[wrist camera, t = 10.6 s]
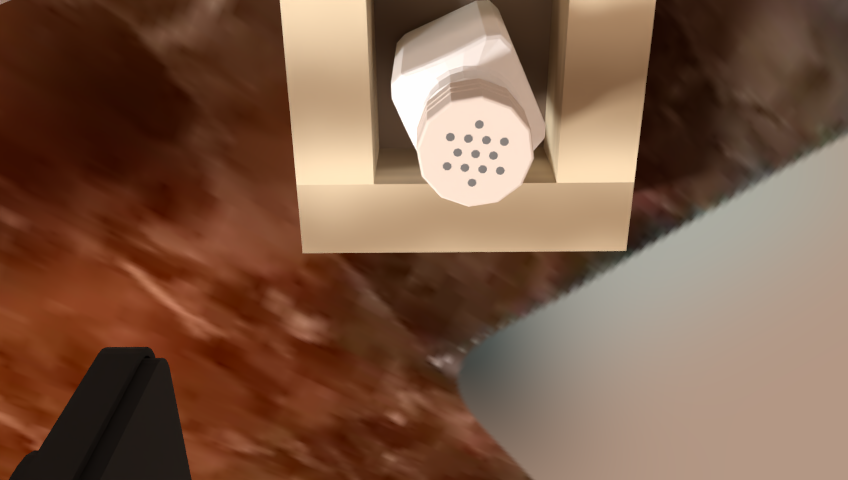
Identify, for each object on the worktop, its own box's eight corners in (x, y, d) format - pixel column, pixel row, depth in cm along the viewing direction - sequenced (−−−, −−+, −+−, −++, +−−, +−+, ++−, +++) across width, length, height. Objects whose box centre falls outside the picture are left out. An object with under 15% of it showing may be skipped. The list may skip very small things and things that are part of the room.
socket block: (293, -107, 28) (271, -97, 24) (633, -111, 28) (667, -101, 24) (317, 202, 34) (303, 253, 30) (602, 200, 33) (626, 250, 29)
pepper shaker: (435, 130, 31) (438, 241, 23) (390, 37, 29) (375, 119, 21) (531, 88, 30) (571, 187, 22) (490, -11, 29) (516, 56, 20)
